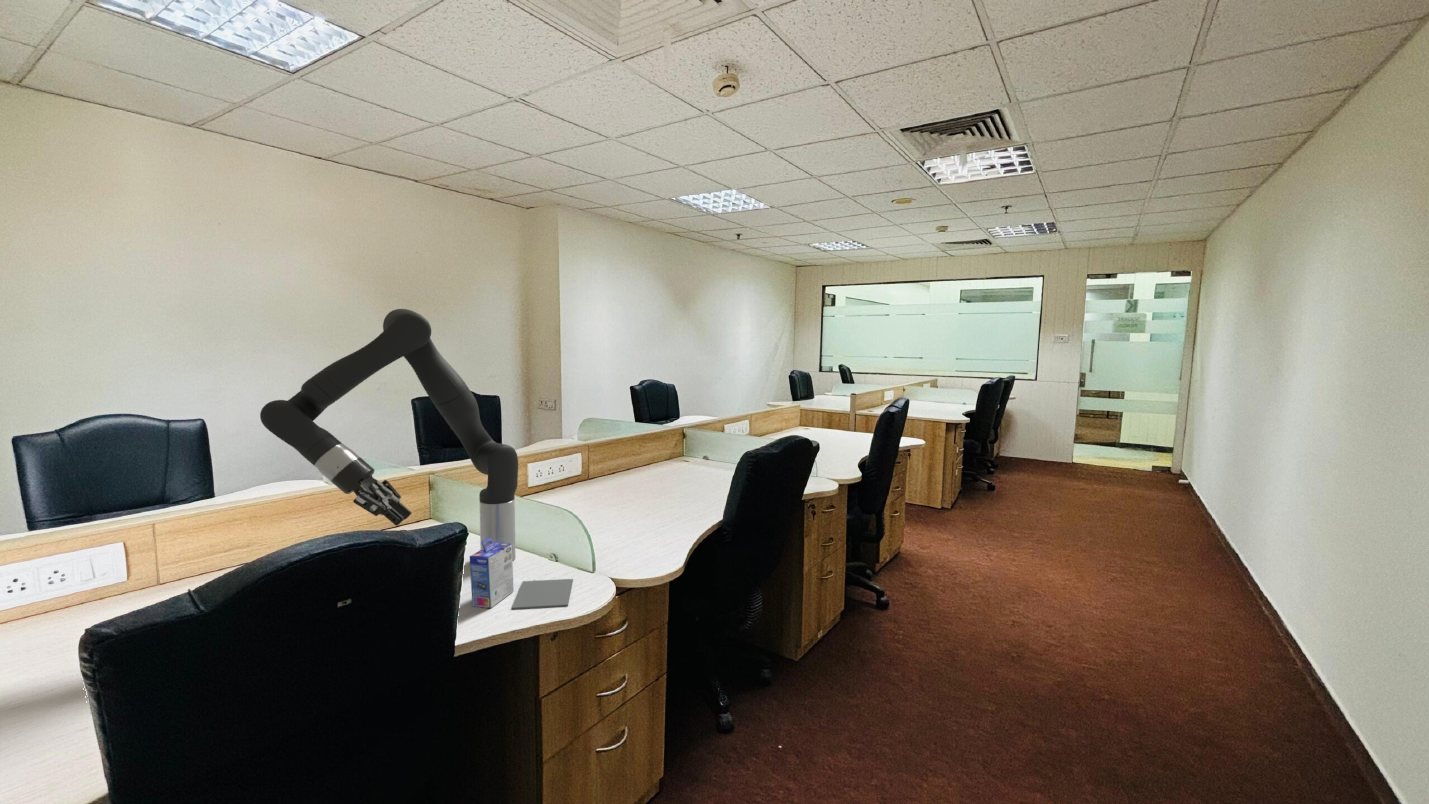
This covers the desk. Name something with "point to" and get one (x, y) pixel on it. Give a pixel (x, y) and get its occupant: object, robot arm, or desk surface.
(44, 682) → the desk surface
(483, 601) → the ink cartridge box
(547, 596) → the mat
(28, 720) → the desk surface
